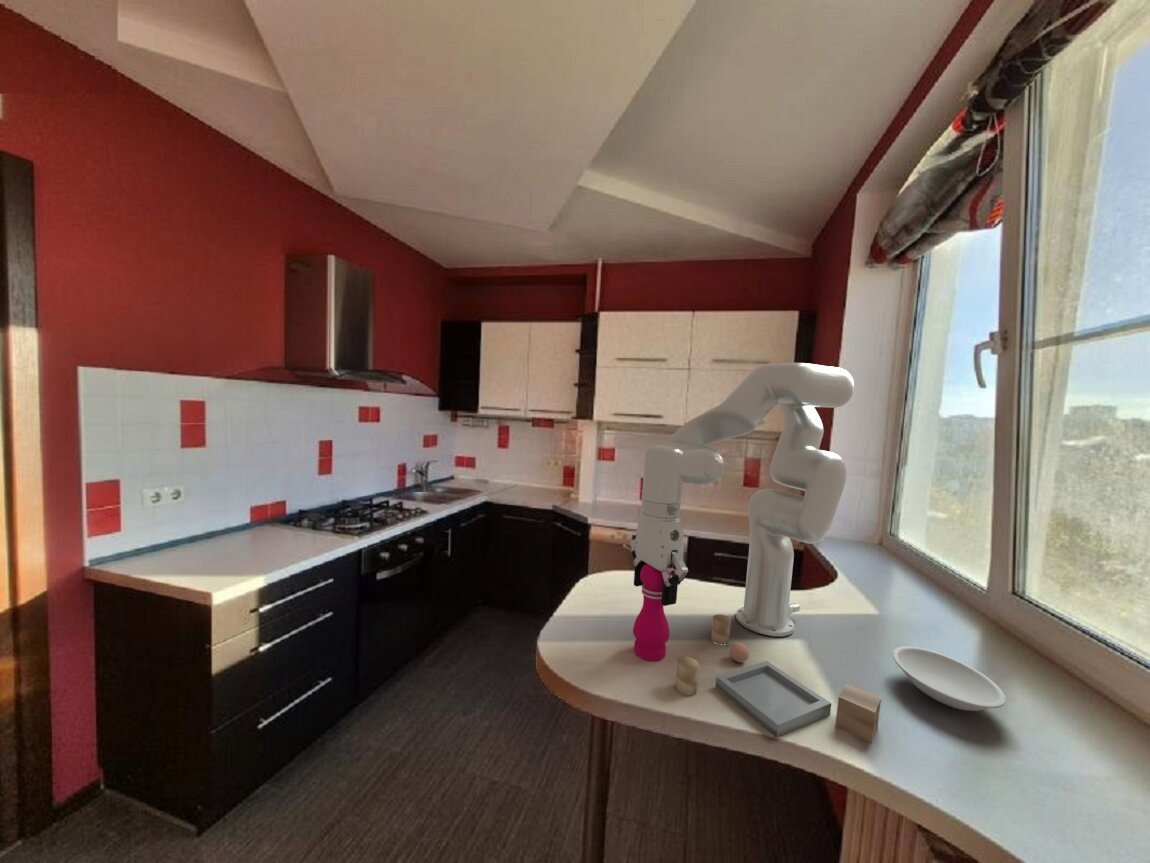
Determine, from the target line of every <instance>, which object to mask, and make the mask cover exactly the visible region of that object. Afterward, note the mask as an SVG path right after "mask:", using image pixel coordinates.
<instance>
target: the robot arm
mask: <svg viewBox="0 0 1150 863" xmlns="http://www.w3.org/2000/svg"><path fill="white" fill-rule="evenodd" d="M854 391H855V382H854V379H853V377H852V375H851V373H850V372H849V371H847V370H846V369H843V368H841V367H837V366H836V367H835V366H827V365H821V364H814V363H805V362H783V363H781V362H780V363H776V362H775V363H765V364H762V365H759V366H757V367H756V368H755V369H753V370H752V371H751V372H750V373H749V374H748V376H747V377H746V378H744V379H743V381H742V382H741V383H740V384H739V385H737V387H736V388H735V389H734V390H733V391H732V392H731V393H730V394H729V395H728V396H727V397H726V399H725V400H724V401H722V402H721V403H720V404H719V405H717V406H714V407H713V408H710V409H708V410H707V411H705V412H703V413H701V414H700V415H698V416H695V417H694V418H691V420H690V419H689V421H687V422H685V423H683V425H682V426H680V427H679V428H678V429H677V430H676V431H675V432H674V433H673V434H671V436H670V437H669V438H668V440H667V441H666V442H665V443H664V444H663V445H661V444H660V445H658V444H657V445H656V444H655V445H649V446H648V447H647V448H646V450H645V452H644V460H643V461H644V463H643V477H642V478H643V479H642V490H641V504H640V505H641V506H640V514H639V516H638V521H637V527H636V528H637V529H636V534H635V535H636V536H635V538H634V539H632V540H631V541H630V543H629V544H630V549H631V555H632V557H633V561H632V562H633V563H632V564H633V566H634V574H633V586H635V587H642V585H643V583H642V581H641V578H640V573H641V569H642V567H643V566H644V565H645V564H649V565H650V566H652V567H654V568H655V569H657V570H659V571H661V572H662V575H663V578H664V582H665V584H664V585H663V586H662V598H661V604H662V605H663V607H666V606H672V605H676V604H677V597H678V586H680V585H681V582H683V581H684V580H685V577H686V576H687V574H688V573H689V569H688V567H687V565H686V563H685V562H684V552H685V550H684V547H685V546H684V545H685V544H684V543H685V541H684V529H683V528H684V527H683V521H682V518H680V516H681V504H682V503H681V501H682V492H683V491H682V490H683V484H693V485H699V486H700V485H701V486H706V485H711V484H713V483H716V482H717V481H718V480H719V479H720V478H721V477H722V476H723V473H724V470H725V462H724V460H723V457H722V456H721V454H720V453H719V452H718V451H716V450H715V449H713V448H710V447H708V446H709V445H711V444H714V443H717V442H720V441H723V440H728V439H733V438H734V439H735V438H738V437H741V436H742V437H743V436H744V435H747V434H750V433H751V432H753V431H754V430H755V429H756V428H757V426H759V424H760V423H761V422H762V421H763V420H764V419H765V417H766V416H767V415H768V414H769V413H770V412H771V411H772V410H773V409H774V408H775V407H776V406H777V405H778V404H779V405H780V407H781V410H782V414H783V427H782V431H781V434H780V437H779V440H778V442H777V445H776V448H775V451H774V454H773V456H772V460H771V462H770V465H769V476H770V478H771V479H772V480H773V482H775V483H776V484H779V485H782V486H785V487H788V488H792V489H794V490H795V489H796V490H800V491H804V492H805V494H804V496H803V495H800V494H796V493H793V492H789V491H785V490H781V489H776V488H763V489H759V490H757V491H755V492H754V493H753V494H752V495H751V497H750V499H749V501H748V505H747V513H748V524H749V546H748V556H747V558H748V559H747V567H746V568H747V569H746V580H745V591H744V601H743V606H742V607H740V608H738V609H737V610H736V612H735V618H736V621H738V623H739V624H740V625H742V626H743V627H744V628H745V629H747V630H749V631H752V632H754V633H757V634H760V635H765V636H768V637H769V636H770V637H786V636H790V635H792V634H793V633H794V631H795V623H794V621H793V620H792V619H791V618H790V617H791V615H792V613H793V614H794V613H796V612H800V611H801V606H800V604H798V603H796V602H794V603H790V598H791V587H792V579H793V577H792V576H793V569H794V568H793V567H794V558H795V552H794V547H793V546H794V545H793V543H792V540H791V539H793V540H795V541H799V542H801V543H805V544H811V545H812V544H818V543H820V542H821V541H823V540H824V539H825V538H826V536H827V534H828V533H829V531H830V528H831V526H832V523H833V520H834V517H835V514H836V511H837V510H838V506H839V503H840V500H841V497H842V494H843V491H844V488H845V485H846V480H847V467H846V466H847V465H846V464H845V461H844V459H843V458H842V457H841V456H840V455H839V454H837V453H835V452H833V451H832V452H831V451H830V450H829V451H827V450H822V449H820V446H821V443H822V439H823V436H824V433H825V432H824V431H825V430H824V426H823V422H822V419H821V417H820V415H819V412H818V411H817V410H816V408H835V409H836V408H840V407H843V406H845V405H846V404H847V403H848V402H850V400H851V399H852V397H853V395H854ZM668 572H670V574H671V578H670V577H669V574H668Z"/></svg>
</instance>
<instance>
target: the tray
mask: <svg viewBox="0 0 1150 863" xmlns="http://www.w3.org/2000/svg"><path fill="white" fill-rule="evenodd" d="M714 685H715V686H716V687H717V688H718V689H719V690H718V689H717V688H716V687H715V688H716V689H717V690H718V691H720V692H721V693H722V692H723V693H724V696H726V697H727V696H728V697H727V698H728V699H729V698H730V699H729V700H731V701H732V702H733V701H734V702H735V703H734V702H733V703H734V704H735V705H736V706H738V707H739V708H740V707H741V710H742V711H744V712H745V713H747V714H748V715H749V716H750V717H751V718H753V720H755V721H756V722H757V723H759V724H760V725H761V726H762V727H764V728H765V729H766V730H767V731H768V732H770V733H771V734H772V735H773V736H775V737H776V738H778V737H780V736H783V735H786V734H787V733H790V732H793V731H794V730H797V729H799V728H801V727H804V726H807V725H809V724H811V723H813V722H815V721H818V720H821V719H823V718H825V717H827V716H830V715H831V710H832V702H830V701H829V700H827V699H825V698H824V697H823V696H821V695H820V694H819V693H817V692H815V691H814V690H812V689H811V688H809V687H808V686H806V685H804V684H803V683H801V682H800V681H798V680H797V679H796V678H794V677H792V676H791V675H790V674H787V673H786V672H785V671H783V670H781V668H778V667H777V666H776V665H774V664H773V663H771V662H770V661H768V660H765V661H761V662H758V663H755V664H751V665H748V666H745V667H741V668H739V669H736V670H732V671H729V672H725V673H721V674H719V675H716V676H715V684H714ZM723 693H722V694H723Z"/></svg>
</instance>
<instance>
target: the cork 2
mask: <svg viewBox="0 0 1150 863" xmlns="http://www.w3.org/2000/svg"><path fill="white" fill-rule="evenodd" d="M731 621H732V620H731V618H729V616H726V615H723V614H714V615H713V616H712V623H711V625H712V626H711V634H710V635H711V636H710V638H711V639H710V640H712V641H713V642H715V643H717V644H722V645H724V644H725V645H726V644H728V643H729V642H730V635H731V634H730V632H731ZM712 641H711V642H712ZM713 642H712V643H713ZM715 643H714V644H715ZM717 644H716V645H717ZM728 645H729V644H728ZM726 646H727V645H726Z"/></svg>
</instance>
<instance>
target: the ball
mask: <svg viewBox="0 0 1150 863" xmlns="http://www.w3.org/2000/svg"><path fill="white" fill-rule="evenodd" d="M749 654H750V652H749V648H748V646H746V645H745V644H744V643H743V642H740V641H736V642H733V643H732V644H731V645H730V647H729V655H730V657H731V658H732V659H733V661H735V662H737V663H745V662H746V661H747V660H748V658H749Z"/></svg>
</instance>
